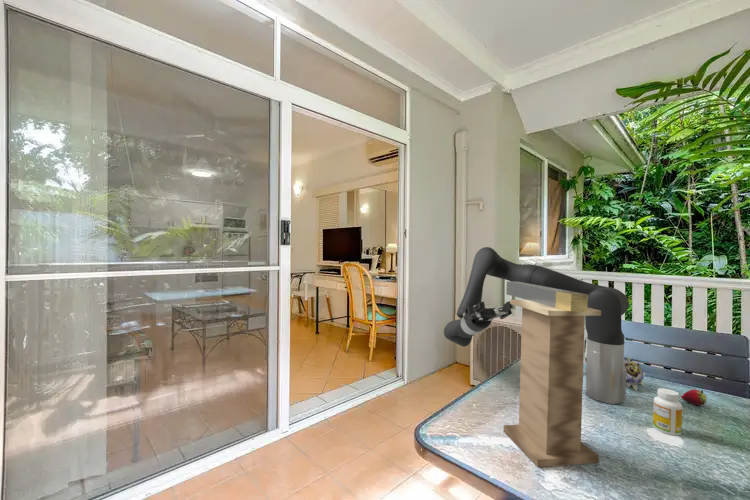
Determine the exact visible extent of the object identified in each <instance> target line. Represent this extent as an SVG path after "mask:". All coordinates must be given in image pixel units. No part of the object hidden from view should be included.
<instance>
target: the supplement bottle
mask: <svg viewBox="0 0 750 500" xmlns="http://www.w3.org/2000/svg"><path fill="white" fill-rule="evenodd" d="M679 398H680V394H679V392H677V391H675V390H672V389H668V388H663V387H662V388H660V387H659V388H657V396H655V397H654V398H653V411H652V415H653V416H652V426H653V428H654V429H656V430H657V431H658V432H661V433H663V434H667V435H669V436H681V435H682V432H683V431H682V427H683V426H682V425H683V405H682V403H681V402H680V401H679V400H680V399H679Z"/></svg>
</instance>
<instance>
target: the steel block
mask: <svg viewBox="0 0 750 500" xmlns="http://www.w3.org/2000/svg"><path fill="white" fill-rule="evenodd" d="M505 289H506V291H505V292H506V295H507V296H511V297H514V298H519V299H521V300H529V301H533V302H537V303H541V304H544V305H548V306H552V307H555V308H559V309H562V310H566V311H570V312H587V301H588V294H583V293H577V292H572V291H566V290H561V289H556V288H550V287H545V286H539V285H534V284H529V283H523V282H511V281H508V280H506V288H505Z"/></svg>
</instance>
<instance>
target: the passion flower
mask: <svg viewBox="0 0 750 500" xmlns="http://www.w3.org/2000/svg"><path fill="white" fill-rule="evenodd" d="M624 368H625V369H626V389H629V388H630V389H631V390H633V391H634V392H636V391H637V390H638V385H640V386H642V387H645V383H644V381H645V376H646V372H644V371H643V370H642V369H641V366H640V363H639V362H637V363H635V361H633V360H631V358H630V357H624Z"/></svg>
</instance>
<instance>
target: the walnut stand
mask: <svg viewBox="0 0 750 500" xmlns="http://www.w3.org/2000/svg"><path fill="white" fill-rule="evenodd" d="M509 302H510V304H512V306H513V305H514V306H517V307H519V308H521V309H522V310H521V336H520V337H521V338H520V339H521V341H520V343H521V344H520V373H519V375H520V376H519V403H518V405H519V406H518V407H519V409H518V424H507V425H504V424H503V433H504V434H505V435H506V436H507V437H508V438H509V439H510V440H511V441H512V442H513V443H514V444H515V445H516V446H517V448H519V450H520V451H521V452H522V453H523V454H524V455H525V456H526V457H527V458H528V459H529V460H530V461H531V462H532V463H533V464H534V466H536V467H537V468H544V467H555V466H557V467H559V466H568V465H569V466H571V465H581V464H582V465H583V464H593V463H599V462H600V460H599V459H600V456H599V454H598V453H597V452H595V451H594V450H593V449H592V448H590V447H589V446H587V445H586V444H585V443H584V442H582V423H583V422H582V420H583V416H582V414H583V413H582V412H583V392H584V391H583V388H584V386H583V383H584V357H585V356H584V353H585V351H584V350H585V330H586V327H585V316H599V315H601V310H596V309H592V308H588V307H587V312H570V311H566V310H562V309H559V308H555V307H552V306H548V305H544V304H541V303H537V302H533V301H529V300H526V299H510V301H509Z"/></svg>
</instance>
